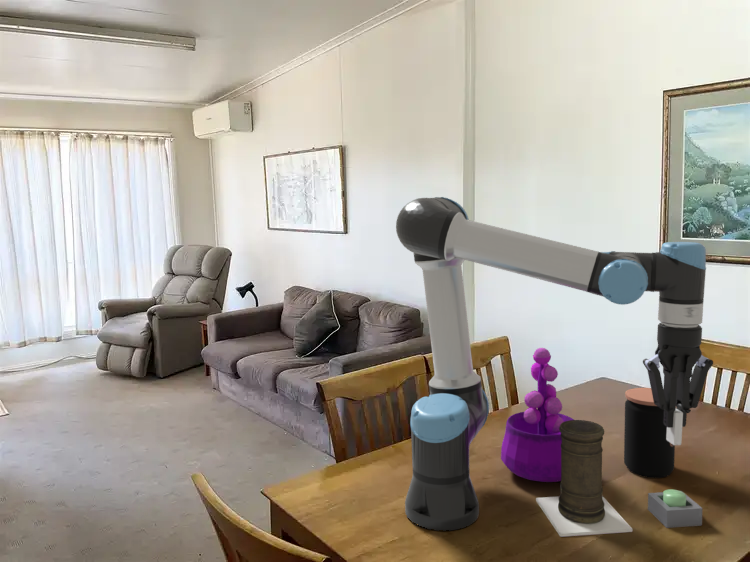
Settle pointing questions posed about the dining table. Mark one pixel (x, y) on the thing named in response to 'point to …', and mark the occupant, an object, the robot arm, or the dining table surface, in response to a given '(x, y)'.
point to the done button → (674, 498)
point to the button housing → (675, 512)
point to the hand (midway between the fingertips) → (673, 442)
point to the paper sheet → (570, 528)
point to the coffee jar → (646, 436)
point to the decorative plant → (536, 428)
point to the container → (581, 472)
